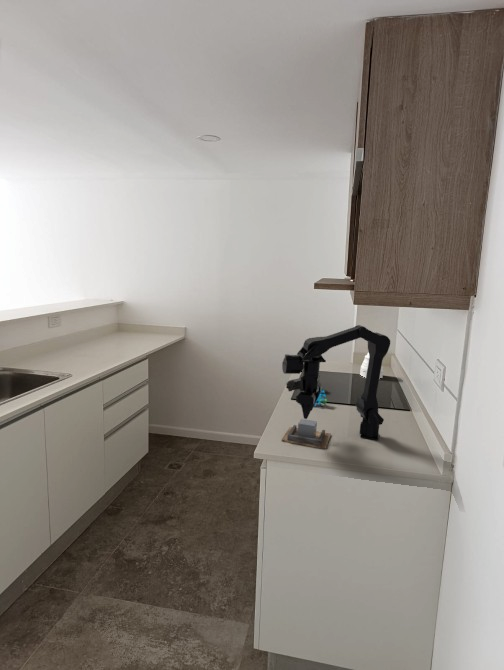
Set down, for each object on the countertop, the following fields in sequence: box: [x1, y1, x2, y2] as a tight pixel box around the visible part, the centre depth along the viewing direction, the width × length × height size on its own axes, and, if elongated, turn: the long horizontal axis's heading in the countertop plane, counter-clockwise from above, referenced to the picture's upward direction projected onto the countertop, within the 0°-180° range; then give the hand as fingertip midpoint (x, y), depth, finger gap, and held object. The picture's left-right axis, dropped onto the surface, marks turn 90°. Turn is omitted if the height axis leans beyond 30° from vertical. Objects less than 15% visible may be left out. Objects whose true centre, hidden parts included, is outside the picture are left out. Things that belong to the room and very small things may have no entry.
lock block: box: [297, 418, 318, 439], centre depth 156 cm, size 6×5×6 cm
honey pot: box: [359, 351, 384, 380], centre depth 247 cm, size 13×13×18 cm
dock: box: [281, 424, 332, 450], centre depth 157 cm, size 16×13×2 cm
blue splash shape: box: [314, 389, 328, 408], centre depth 195 cm, size 11×6×10 cm
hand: (307, 414), depth 155 cm, fingers open, 9 cm apart
